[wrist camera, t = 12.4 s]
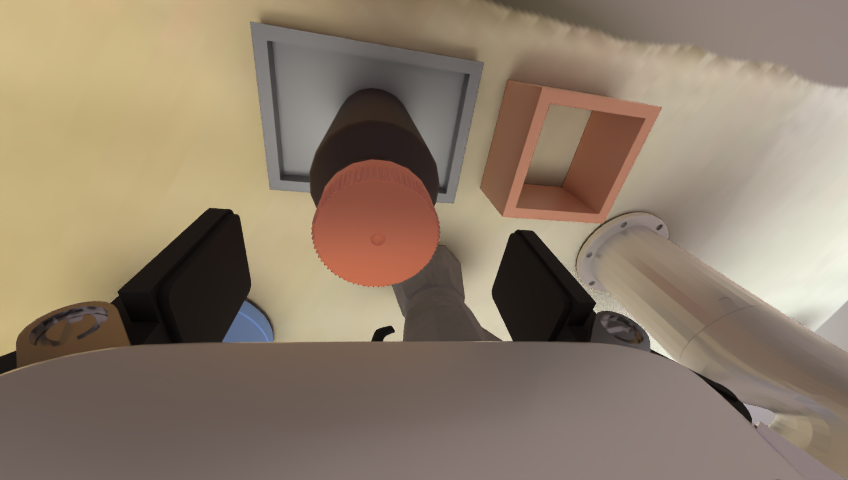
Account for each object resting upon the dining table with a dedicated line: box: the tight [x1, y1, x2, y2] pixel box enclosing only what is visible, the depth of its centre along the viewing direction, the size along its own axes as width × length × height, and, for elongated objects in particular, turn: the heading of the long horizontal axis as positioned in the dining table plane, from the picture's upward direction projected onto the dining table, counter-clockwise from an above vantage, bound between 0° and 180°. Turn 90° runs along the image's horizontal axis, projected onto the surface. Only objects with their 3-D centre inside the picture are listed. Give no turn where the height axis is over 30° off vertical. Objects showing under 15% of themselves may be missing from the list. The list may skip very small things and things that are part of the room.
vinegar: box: [309, 88, 440, 287], centre depth 20 cm, size 7×7×20 cm
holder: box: [480, 80, 662, 224], centre depth 30 cm, size 11×11×7 cm
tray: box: [250, 22, 484, 203], centre depth 28 cm, size 18×13×2 cm
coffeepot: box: [371, 246, 502, 342], centre depth 32 cm, size 15×9×18 cm, turn 104°
